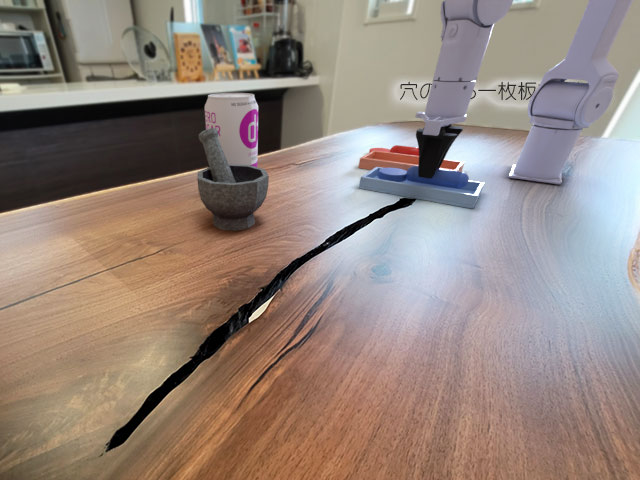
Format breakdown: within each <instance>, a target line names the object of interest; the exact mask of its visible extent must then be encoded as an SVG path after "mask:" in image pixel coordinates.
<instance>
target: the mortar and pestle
mask: <svg viewBox="0 0 640 480" xmlns="http://www.w3.org/2000/svg"><path fill="white" fill-rule="evenodd" d="M198 139H199V142H200V143H201V144H202V146H203V149H204V153H205V157H206V160H207V164H208V163H209V168H208V167H206V168H204V169H201V170H199V171H197V190H198V193H199V198H200V201H201V202H202V204H203V205H204V207H205V209H206V210H208V211H209V212H210V213H211V214H212V225H213V227H216V228H218V229H219V230H222V231H233V232H236V231H242V230H247V229H250V228H251V227H252V226H254V225H255V223H256V219H255V214H254V213H255V212H257V211H258V210H259V209H260V208H261V207H262V205H263V204H264V202H265V200H266V198H267V194H268V190H269V180H270V179H269V177H270V176H269V174H268V172H267V169H265V168H261V167H259V166H257V167H255V166H251V165H232V164H230V165H229V164H228V162H227V159H226V157H225V154H224V152H223V149H222V147H221V144H220V142H219V139H218V131H217V129H215V128H210V129H206V128H205V129H204V130H202V131H201V132H200V133H199V134H198Z"/></svg>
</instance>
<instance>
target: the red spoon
mask: <svg viewBox="0 0 640 480" xmlns="http://www.w3.org/2000/svg"><path fill="white" fill-rule="evenodd" d="M372 151H382V152H390V153H398V154H406V155H414V156H419V147H418V146H417V147H416V146H409V145H408V146H407V145H398V144H395V145H393V146H392V147H391V148H385V147H371V148H369V150H368V153H370V152H372Z"/></svg>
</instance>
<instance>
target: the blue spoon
mask: <svg viewBox="0 0 640 480" xmlns="http://www.w3.org/2000/svg"><path fill="white" fill-rule="evenodd" d="M378 178H379V179H382V180H388V181H394V182H402V181H405V180H406V178H407V179H408V180H409V181H412V182H417V183H424V184H430V185H436V186H443V187H449V188H455V189H460V188H463V187H465V186H466V185H467V184H468V181H469V180H470V178H469V174H467V173H466V172H464V171H462V172H459V171H451V170H444V169H437V170H436V172H435V174H434V175H433V177H432V178H431V179H430V178H423V177H418V166H412V167H410V168H409V169H408V170H407V171H406V170H403V169H399V168H382V169H380V170H379V173H378Z"/></svg>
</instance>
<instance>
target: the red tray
mask: <svg viewBox="0 0 640 480" xmlns="http://www.w3.org/2000/svg"><path fill="white" fill-rule="evenodd" d="M418 165H419V156H414V155H406V154H398V153H390V152H382V151H372V152H370V153H369V152H368V153H367V154H365V155H363V156H361V157H359V162H358V167H357V168H358V169H363V170H368V171H371V170H372V169H374V168H375V167H382V168H399V169H403V170H406V171H407V170H408V169H409V168H410V167H412V166H418ZM464 166H465V161H462V160H454V159H445V158H444V160H443V162H442V164H441V166H440V168H439V169H444V170H451V171H459V172H463V168H464Z"/></svg>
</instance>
